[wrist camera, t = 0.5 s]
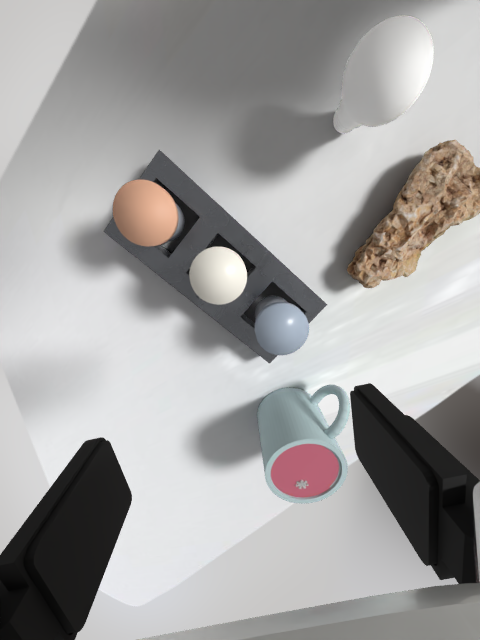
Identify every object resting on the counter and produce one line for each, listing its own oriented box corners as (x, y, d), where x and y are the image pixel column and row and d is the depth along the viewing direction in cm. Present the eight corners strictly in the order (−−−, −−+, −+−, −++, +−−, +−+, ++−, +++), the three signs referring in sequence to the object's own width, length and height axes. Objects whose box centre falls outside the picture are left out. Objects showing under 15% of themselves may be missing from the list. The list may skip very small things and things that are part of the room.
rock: (411, 315, 31) (355, 280, 27) (383, 300, 35) (331, 268, 32) (524, 180, 26) (473, 115, 22) (474, 182, 30) (425, 129, 27)
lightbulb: (309, 152, 28) (354, 99, 17) (318, 84, 26) (375, -21, 16) (363, 158, 28) (440, 108, 18) (376, 91, 26) (470, -8, 16)
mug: (292, 449, 40) (311, 514, 30) (244, 420, 38) (248, 480, 29) (352, 386, 37) (394, 437, 27) (303, 352, 35) (330, 393, 25)
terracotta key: (158, 181, 26) (135, 164, 20) (197, 217, 27) (188, 210, 21) (129, 222, 27) (100, 217, 21) (169, 255, 28) (152, 259, 22)
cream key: (218, 235, 28) (214, 233, 22) (253, 266, 29) (258, 273, 23) (189, 271, 29) (177, 279, 23) (224, 301, 30) (222, 315, 24)
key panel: (166, 159, 28) (159, 149, 25) (318, 299, 33) (327, 304, 30) (116, 232, 30) (103, 231, 27) (266, 353, 35) (269, 363, 32)
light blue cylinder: (271, 283, 30) (281, 293, 24) (303, 311, 31) (319, 327, 25) (242, 315, 31) (244, 333, 25) (273, 341, 32) (283, 364, 26)
